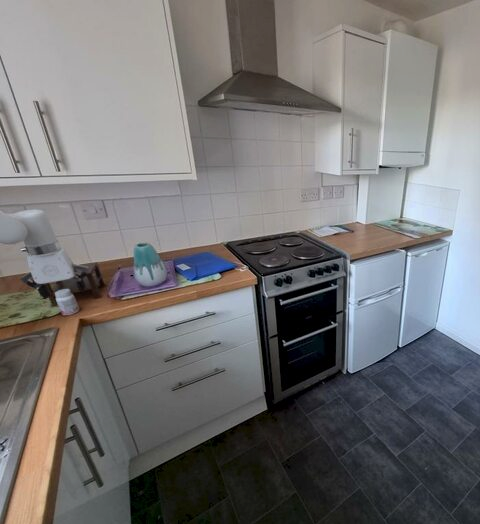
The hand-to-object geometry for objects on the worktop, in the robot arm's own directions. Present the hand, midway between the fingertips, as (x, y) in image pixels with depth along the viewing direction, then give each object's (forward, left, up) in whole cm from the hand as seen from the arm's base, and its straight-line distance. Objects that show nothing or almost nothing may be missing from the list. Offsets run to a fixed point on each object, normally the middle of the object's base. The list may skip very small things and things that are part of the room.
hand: (65, 293), depth 105 cm
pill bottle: (0, 0, -8) cm, 8 cm away
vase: (+25, +12, -8) cm, 28 cm away
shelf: (0, +14, -7) cm, 15 cm away
